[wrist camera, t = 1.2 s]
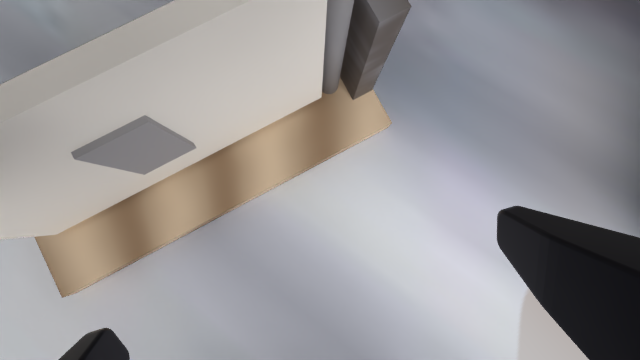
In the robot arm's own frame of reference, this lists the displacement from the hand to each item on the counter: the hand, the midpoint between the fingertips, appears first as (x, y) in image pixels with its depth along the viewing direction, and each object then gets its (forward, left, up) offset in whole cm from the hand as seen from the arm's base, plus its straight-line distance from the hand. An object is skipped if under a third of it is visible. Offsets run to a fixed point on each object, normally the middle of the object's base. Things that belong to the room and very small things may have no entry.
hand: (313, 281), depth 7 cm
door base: (+3, +8, -14) cm, 17 cm away
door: (+3, +8, -13) cm, 15 cm away
